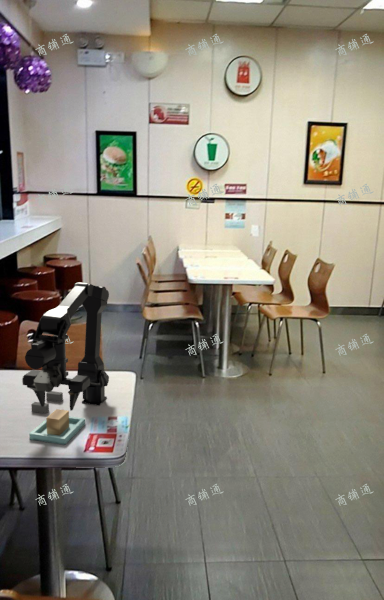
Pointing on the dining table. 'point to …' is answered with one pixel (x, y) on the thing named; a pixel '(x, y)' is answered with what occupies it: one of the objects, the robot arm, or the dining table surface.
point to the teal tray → (42, 435)
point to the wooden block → (57, 422)
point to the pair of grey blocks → (49, 396)
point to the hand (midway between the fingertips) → (57, 408)
